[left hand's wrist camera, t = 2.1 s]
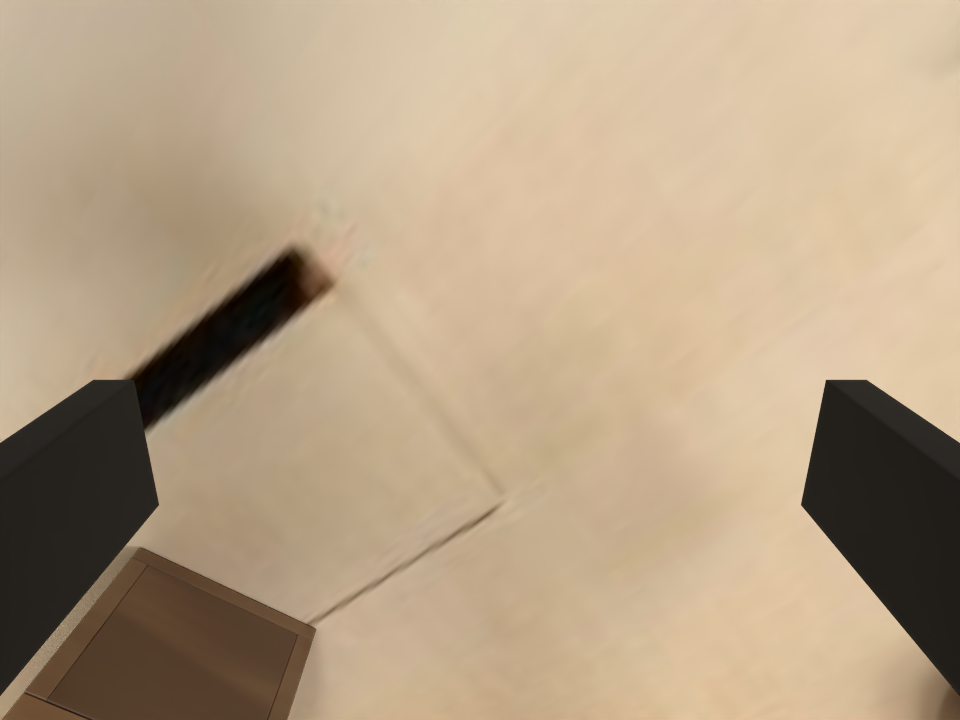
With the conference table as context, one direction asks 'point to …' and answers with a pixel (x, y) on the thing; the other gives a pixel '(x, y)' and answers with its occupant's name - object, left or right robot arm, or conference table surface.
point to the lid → (37, 711)
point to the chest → (176, 652)
